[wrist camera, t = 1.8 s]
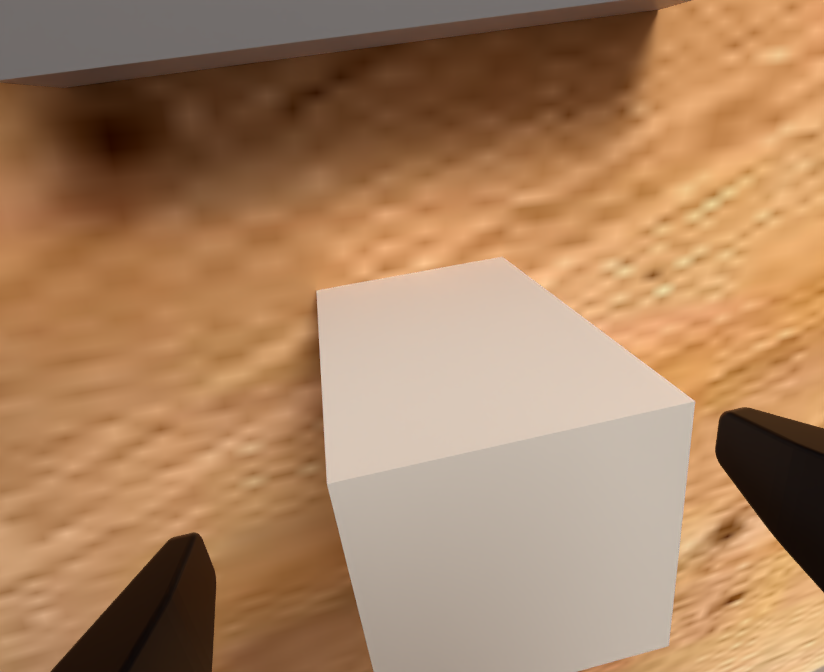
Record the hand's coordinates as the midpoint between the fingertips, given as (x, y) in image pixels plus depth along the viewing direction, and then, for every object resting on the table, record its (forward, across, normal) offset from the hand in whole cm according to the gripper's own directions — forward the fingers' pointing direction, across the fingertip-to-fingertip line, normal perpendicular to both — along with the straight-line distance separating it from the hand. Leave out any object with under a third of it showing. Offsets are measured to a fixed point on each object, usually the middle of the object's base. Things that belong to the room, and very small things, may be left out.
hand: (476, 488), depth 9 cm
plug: (+5, 0, 0) cm, 5 cm away
